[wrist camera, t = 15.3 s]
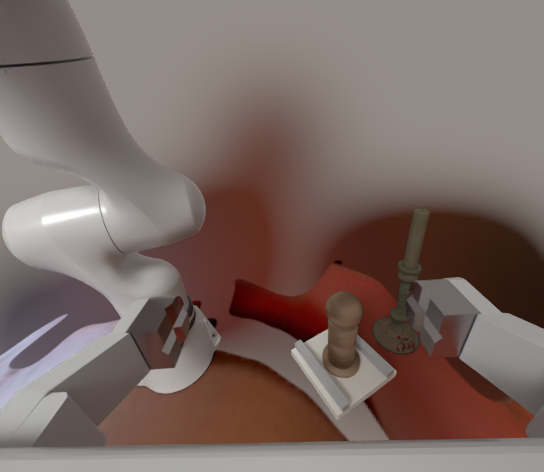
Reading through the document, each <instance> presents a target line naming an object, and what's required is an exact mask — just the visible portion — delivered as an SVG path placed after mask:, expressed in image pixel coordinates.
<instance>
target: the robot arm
mask: <svg viewBox="0 0 544 472" xmlns="http://www.w3.org/2000/svg"><path fill="white" fill-rule="evenodd" d="M92 55H93V53H92V51H91V49H90V47H89V44H88V42H87V40H86V37H85V35H84V33H83V31H82V29H81V26H80V24H79V22H78V20H77V18H76V16H75V14H74V12H73V10H72V8H71V6H70V4H69V2H68V0H0V135H1V137H2V138H3V139H4V141H5V142H6V143H7V145H8V146H9V147H10V148H12V149H13V150H14V151H15V152H16V153H18V154H19V155H20V156H22V157H23V158H25V159H27V160H28V161H31V162H33V163H35V164H37V165H40V166H43V167H46V168H51V169H55V170H59V171H64V172H67V173H70V174H73V175H75V176H78V177H80V178H82V179H84V180H86V181H88V182H89V183H91V184H92V185H86V186H80V187H74V188H67V189H61V190H55V191H50V192H47V193H44V194H41V195H38V196H35V197H32V198H30V199H27V200H24V201H22V202H19V203H17V204H15V205H13V206H11V207H10V208H9V209H8V210H7V212H6V214H5V216H4V219H3V223H2V235H3V239H4V241H5V244H6V246H7V247H8V249H9V250H10V251H11V253H12V254H13V255H14V256H15V257H17V258H18V259H19V260H21V261H22V262H24V263H25V264H27V265H29V266H32V267H35V268H40V269H46V270H51V271H55V272H59V273H63V274H66V275H68V276H71V277H73V278H76V279H78V280H80V281H82V282H84V283H86V284H88V285H90V286H91V287H93V288H95V289H96V290H98V291H99V292H101V293H102V294H103V295H104V296H105V297H106V298H107V299H108V300H109V301H110V302H111V303H112V305H113V306H114V308H115V309H116V311H117V312H118V314H119V315H120V317H121V319H120V321H119V322H118V323H117V325H116V326H115V327H114V329H113V330H112V331H111V333H110V334H105V335H103V336H102V337H100V338H99V339H97V340H96V341H94V342H93V343H91V344H90V345H88V346H87V347H85V348H84V349H82V350H81V351H79V352H77V353H76V354H74V355H73V356H71V357H70V358H68V359H67V360H65V361H64V362H62V363H61V364H59V365H58V366H56V367H55V368H53V369H52V370H50V371H49V372H47V373H46V374H44V375H43V376H41V377H39V378H38V379H36V380H35V381H33V382H32V383H30V384H29V385H27V386H26V387H24V388H23V389H21V390H20V391H18V392H17V393H16V394H15V395H14V396H13V397H12V398H11V399H10V400H9V402H8V403H7V404H6V405H5V406H4V407H3V408H2V409H1V410H0V472H544V329H542V328H540V327H538V326H536V325H533V324H531V323H529V322H526V321H524V320H522V319H520V318H518V317H515V316H513V315H511V314H509V313H501V312H500V311H499V310H498V309H497V308H496V307H495V306H494V305H492V304H491V303H490V302H489V301H488V300H487V299H486V298H485V297H484V296H483V295H482V294H480V293H479V292H478V291H477V290H476V289H475V288H474V287H473V286H472V285H470V284H469V283H468V282H467V281H466V280H465V279H463V278H460V277H458V278H445V279H435V280H421V281H412V282H411V284H410V287H409V291H410V293H411V294H412V295H411V296H410V297H409V298H408V299H407V300H406V306H405V309H406V316H407V318H408V321H409V323H410V325H411V326H412V328H414V329H415V330H417V331H418V332H420V333H421V334H420V338H419V339H420V341H421V343H422V344H423V346H424V348H425V349H426V351H427V352H428V354H429V356H430V357H460V359H461V360H462V361H464V362H465V363H466V364H468V365H469V366H470V367H471V368H473V369H474V370H476V371H477V372H478V373H479V374H481V375H482V376H483V377H485V378H486V379H487V380H489V381H490V382H491V383H493V384H494V385H495V386H496V387H498V388H499V389H500V390H502V391H503V392H504V393H506V394H507V395H508V396H510V397H511V398H512V399H513V400H515V401H516V402H517V403H519V404H520V405H521V406H523V407H524V408H525V409H527V410H528V411H529V412H531V413H532V414H533V415H535V416H534V418H533V419H532V420H531V421H530V423H529V424H528V425H527V426H526V430H525V433H526V435H527V436H528V437H529V438H493V439H439V440H385V441H331V442H278V443H225V444H174V445H123V446H105V444H106V442H107V439H106V436H105V435H104V434H103V432H102V431H101V430H100V429H99V428H98V425H99V424H100V423H101V422H102V421H103V420H104V419H105V418H106V417H107V416H108V415H109V414H110V413H111V412H112V411H113V410H114V409H115V408H116V407H117V406H118V405H119V404H120V402H121V401H122V400H123V399H124V398H125V397H126V396H127V395H128V394H129V393H130V392H131V391H132V390H133V389H134V388H135V387H136V386H137V385H138V386H147V387H148V388H150V389H151V390H153V391H155V392H158V393H172V392H176V391H179V390H182V389H184V388H186V387H188V386H189V385H191V384H192V383H194V382H195V381H196V380H197V379H198V378H199V377H200V376H201V375H202V374H203V373H204V372H205V371H206V369H207V368H208V366H209V364H210V362H211V360H212V357H213V354H214V351H215V350H216V349H217V347H218V346H219V345H220V343H221V341H222V338H221V336H220V335H219V333H218V332H217V331H216V330H215V328H214V327H213V326H212V324H211V323H210V322H209V321H208V319H207V318H206V317H205V316H204V314H203V313H202V312H201V310H200V309H199V308H198V307H197V306H196V305H193V303H192V301H191V300H190V298H189V297H188V296H187V295H186V292H185V289H184V286H183V283H182V280H181V278H180V275H179V272H178V271H177V269H176V268H175V267H174V266H172V265H171V264H170V263H168V262H166V261H164V260H161V259H156V258H150V257H146V256H143V255H141V254H139V253H137V252H138V251H142V250H146V249H150V248H154V247H159V246H163V245H167V244H172V243H174V242H176V241H179V240H181V239H184V238H186V237H188V236H190V235H192V234H195V233H197V232H198V231H199V230H200V228H201V226H202V224H203V222H204V219H205V212H206V209H205V201H204V198H203V196H202V193H201V192H200V190H199V188H198V187H197V186H196V185H195V184H194V183H193V182H192V181H191V180H190V179H189V178H187V177H186V176H184V175H182V174H179V173H176V172H174V171H172V170H170V169H168V168H166V167H165V166H163V165H161V164H160V163H158V162H157V161H156V160H154V159H153V158H152V157H151V156H150V155H148V154H147V153H146V152H145V151H144V150H143V149H142V148H141V147H140V145H139V144H138V143H137V142H136V141H135V140H134V138H133V137H132V136H131V134H130V133H129V131H128V129H127V128H126V126H125V124H124V122H123V120H122V119H121V117H120V115H119V113H118V111H117V108H116V106H115V104H114V102H113V100H112V98H111V96H110V94H109V91H108V89H107V87H106V85H105V82H104V80H103V78H102V75H101V73H100V71H99V68H98V66H97V63H96V61H95V58H94V57H93V56H92ZM214 336H215V337H214Z"/></svg>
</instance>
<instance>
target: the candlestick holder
mask: <svg viewBox="0 0 544 472" xmlns="http://www.w3.org/2000/svg"><path fill="white" fill-rule="evenodd" d="M428 217H429V211H428V210H427V209H424V207H423V209H421V208H419V209H415V210H414V213H413V218H412V223H411V227H410V233H409V238H408V242H407V247H406V252H405V257H404V260H403V261H400V262H399V264H398V268H399V269H400V270H399V272H398V277H399V279H400V280H401V281H402V282H401V283H400V287H399V289H398V291H399V297H398V301H397V304H398V305H397V307H396V308H393V309H391V310H390V317H385V318H381V319H379V320H377V321H376V322H375V323H374V325H373V327H372V333H373V336H374V338H375V339H376V341H377V342H378V343H379V344H380V345H381V346H382V347H384V348H385V349H387V350H389V351H391V352H394V353H398V354H408V353H412V352H413V351H415V350H416V349H417V348H418V346H419V336H418V334H417V332H416V331H415V330H414V328H412V326H410V325H409V324H408V323H406V322H407V320H408V318H407V316H406V311H405V308H404V307H405V306H406V300H407V298H408V295H409V294H410V291H409V287H410V284H411V282H412V281H417V279H418V274H419V273H420V272H421V271H422V267H421V265H420V264H419V263H418V259H419V255H420V251H421V246H422V242H423V238H424V233H425V229H426V225H427V221H428Z"/></svg>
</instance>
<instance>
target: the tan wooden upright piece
mask: <svg viewBox="0 0 544 472" xmlns="http://www.w3.org/2000/svg"><path fill="white" fill-rule="evenodd" d="M326 315H327V317H328V344H327V345H326V346H325V348H324V350H323V353H322V360H323V364H324V366H325V368H326V369H327V370H328V372H330V373H331V374H332V375H334V376H336V377H339V378H349V377H352V376H354V375H355V374H356V373H357V372H358V370H359V367H360V357H359V354H358V352H357V351H356V341H357V332H358V323H359V322H360V321H361V318H362V315H363V308H362V305H361V303H360V301H359V299H358V298H357V297H356V296H354V295H353V294H351V293H349V292H337V293H334V294H333V295H331V296H330V297H329V299H328V300H327V303H326Z"/></svg>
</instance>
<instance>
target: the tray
mask: <svg viewBox="0 0 544 472" xmlns="http://www.w3.org/2000/svg"><path fill="white" fill-rule="evenodd" d="M327 344H328V329H327V330H325V331H324V332H322V333H320V334H318V335H317V336H315V337H313V338H311V339H310V340H308V341H306V342H304V343H303V342H302V341H301V340H299V341H298V342H296V343H295V348H294V349H292V350H291V354H292V356H293V358H294V359H295V360H296V362H297V363H298V365H299V366H300V368H301V369H302V370H303V372H304V373H305V375H306V376H307V378H308V379H309V380H310V382H311V383H312V385H313V386H314V388H315V389H316V391H317V392H318V393H319V395H320V396H321V398H322V399H323V401H324V402H325V404H326V405H327V407H328V408H329V409H330V411H331V412H332V414H333V415H334V417H335V418H336V419H337V421H338V420H339V419H341V418H342V417H343V416H345V415H346V414H347V413H349V412H350V411H351V410H352V409H354V408H355V407H356V406H358V405H359V404H360V403H362V402H363V401H364V400H365V399H367V398H368V397H369V396H371V395H372V394H373V393H375V392H376V391H377V390H378V389H380V388H381V387H382V386H384V385H385V384H386V383H388V382H389V381H390V380H391V379H393V378H394V377H395V376H396V373H397V371H396V370H395V369H394V368H393V367H392V366H391V365H390V364H388V363H387V362H386V361H385V360H384V359H383V358H382V357H381V356H380V355H379V354H378V353H377V352H376V351H375V350H373V349H372V348H371V347H370V346H369V345H368V344H367V343H366V342H365V341H364V340H363V339H362V338H361V337H360V336H358V335H357V341H356V351H357V352H358V354H359V357H360V367H359V370H358V372H357V373H356V374H355V375H354V376H352V377H349V378H339V377H336V376H334V375H332V374H331V373H330V372H328V370H327V369H326V368H325V366H324V364H323V360H322V353H323V350H324V348H325V346H326V345H327Z"/></svg>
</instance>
